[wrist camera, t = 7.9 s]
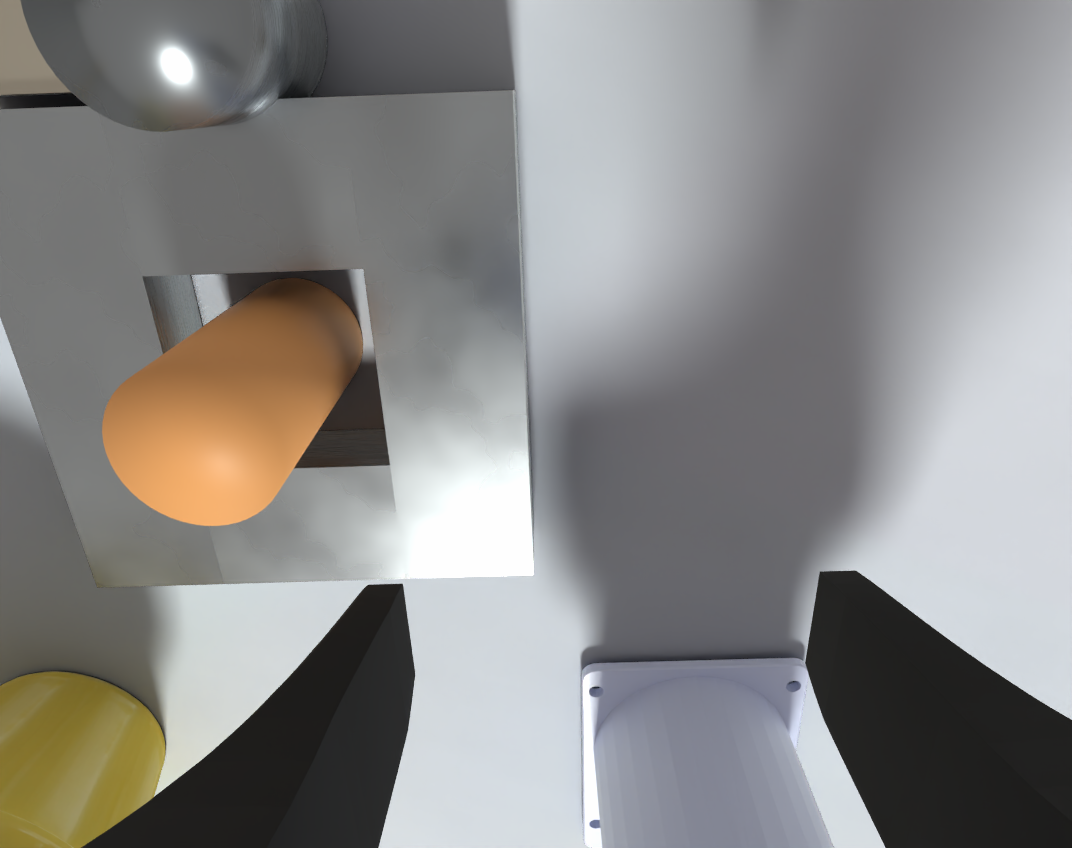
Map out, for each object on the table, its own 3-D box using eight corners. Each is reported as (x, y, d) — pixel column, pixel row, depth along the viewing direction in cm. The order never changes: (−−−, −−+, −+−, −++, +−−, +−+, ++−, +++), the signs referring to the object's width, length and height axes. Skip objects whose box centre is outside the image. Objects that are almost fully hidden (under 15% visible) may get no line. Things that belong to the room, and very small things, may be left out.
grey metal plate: (533, 529, 23) (533, 640, 19) (-88, 548, 24) (-244, 662, 19) (508, -78, 16) (497, -147, 12) (-371, -43, 17) (-728, -95, 12)
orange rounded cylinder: (371, 394, 21) (301, 522, 15) (252, 400, 21) (132, 529, 15) (352, 274, 20) (265, 360, 14) (223, 281, 20) (77, 368, 14)
